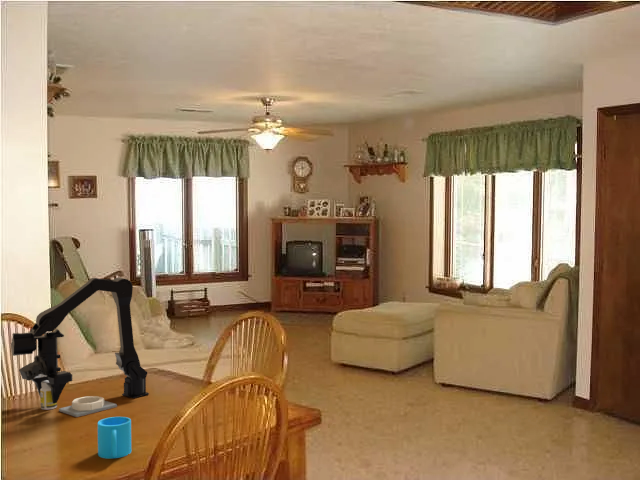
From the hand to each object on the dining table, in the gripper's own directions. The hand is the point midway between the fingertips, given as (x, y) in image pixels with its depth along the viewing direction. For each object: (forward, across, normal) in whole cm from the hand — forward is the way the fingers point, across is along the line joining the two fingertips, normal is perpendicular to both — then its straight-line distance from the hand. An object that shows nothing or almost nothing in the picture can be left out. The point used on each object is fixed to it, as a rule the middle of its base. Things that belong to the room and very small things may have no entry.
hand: (48, 401), depth 215 cm
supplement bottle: (+2, 0, 0) cm, 2 cm away
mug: (+2, +53, -12) cm, 54 cm away
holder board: (+2, +11, +7) cm, 13 cm away
